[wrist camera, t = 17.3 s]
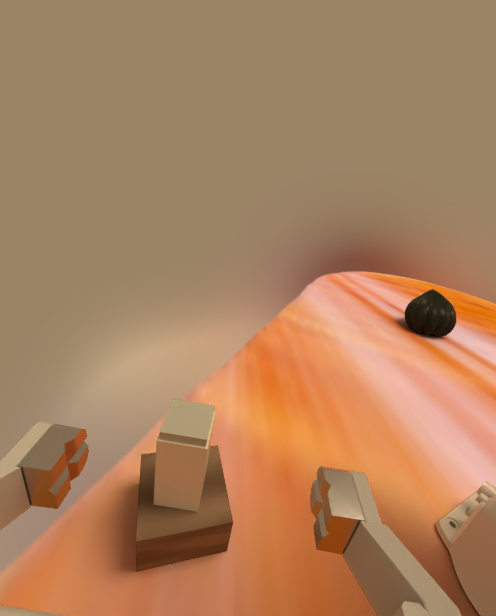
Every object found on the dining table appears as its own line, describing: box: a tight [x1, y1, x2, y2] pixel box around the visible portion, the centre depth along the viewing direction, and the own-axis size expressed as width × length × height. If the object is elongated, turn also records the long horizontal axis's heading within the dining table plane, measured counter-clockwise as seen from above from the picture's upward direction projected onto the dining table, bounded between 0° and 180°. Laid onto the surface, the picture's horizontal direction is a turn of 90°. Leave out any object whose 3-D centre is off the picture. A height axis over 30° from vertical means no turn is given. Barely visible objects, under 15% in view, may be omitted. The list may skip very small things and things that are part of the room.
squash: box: [405, 289, 456, 336], centre depth 101 cm, size 14×15×15 cm
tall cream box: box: [153, 399, 216, 512], centre depth 33 cm, size 5×5×11 cm
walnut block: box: [136, 445, 233, 572], centre depth 36 cm, size 10×10×6 cm
